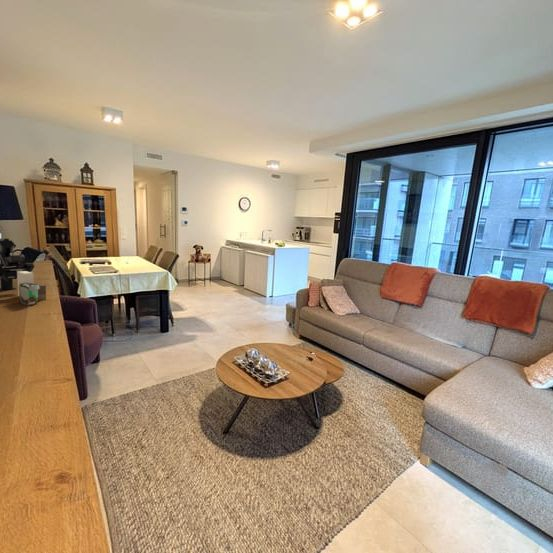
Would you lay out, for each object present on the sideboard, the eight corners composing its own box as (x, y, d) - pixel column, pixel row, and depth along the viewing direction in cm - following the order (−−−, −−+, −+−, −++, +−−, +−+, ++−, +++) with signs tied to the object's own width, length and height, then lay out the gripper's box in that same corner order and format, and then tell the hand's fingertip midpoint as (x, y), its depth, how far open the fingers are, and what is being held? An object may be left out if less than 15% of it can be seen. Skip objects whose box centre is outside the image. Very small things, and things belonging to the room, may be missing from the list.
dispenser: (19, 301, 157) (18, 286, 156) (41, 298, 165) (41, 284, 164) (23, 302, 154) (23, 287, 153) (46, 299, 163) (45, 285, 162)
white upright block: (18, 296, 165) (17, 271, 163) (26, 295, 169) (25, 271, 167) (25, 299, 162) (24, 273, 160) (34, 297, 165) (33, 272, 163)
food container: (44, 304, 154) (43, 285, 152) (29, 306, 148) (29, 286, 147) (34, 300, 160) (33, 281, 159) (19, 301, 155) (19, 282, 153)
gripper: (-9, 249, 160) (2, 273, 156) (32, 249, 176) (43, 270, 173) (-15, 262, 164) (-5, 285, 161) (26, 260, 181) (36, 281, 178)
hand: (18, 280), depth 168 cm, fingers open, 9 cm apart
